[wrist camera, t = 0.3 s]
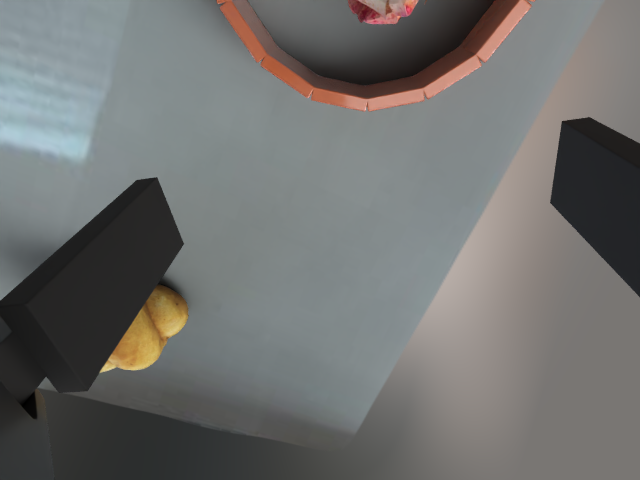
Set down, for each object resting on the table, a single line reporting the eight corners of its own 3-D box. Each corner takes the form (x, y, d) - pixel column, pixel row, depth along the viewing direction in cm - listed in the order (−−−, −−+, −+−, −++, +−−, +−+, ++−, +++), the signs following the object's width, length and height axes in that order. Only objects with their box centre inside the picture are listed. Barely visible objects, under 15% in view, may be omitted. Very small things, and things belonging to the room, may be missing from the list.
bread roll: (189, 267, 37) (153, 329, 30) (202, 343, 42) (173, 411, 35) (52, 258, 37) (-15, 317, 30) (81, 334, 42) (29, 400, 35)
